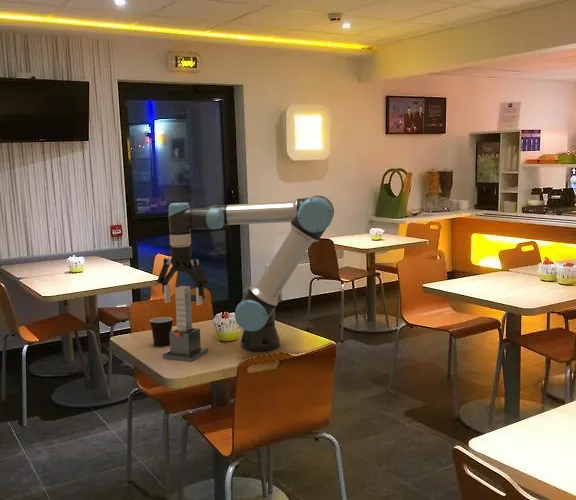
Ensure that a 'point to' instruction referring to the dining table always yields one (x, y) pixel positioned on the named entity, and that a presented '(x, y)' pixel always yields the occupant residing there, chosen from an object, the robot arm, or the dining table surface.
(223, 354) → the dining table surface
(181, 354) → the stand base
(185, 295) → the column
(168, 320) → the coffee mug
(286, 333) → the dining table surface
